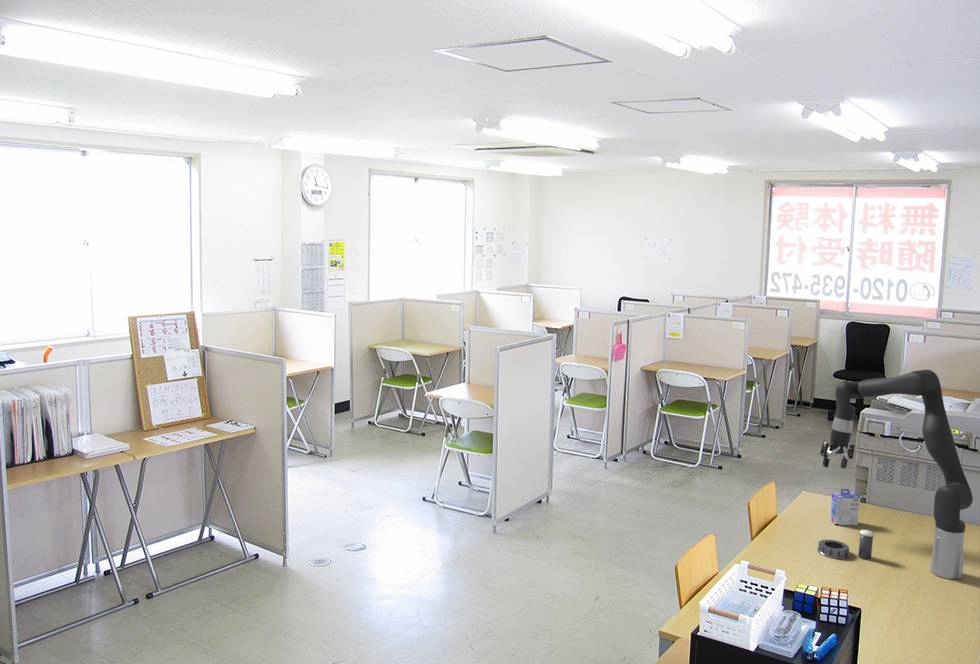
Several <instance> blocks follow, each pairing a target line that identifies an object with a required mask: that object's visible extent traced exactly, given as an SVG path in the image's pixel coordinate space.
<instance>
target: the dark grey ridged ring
mask: <svg viewBox="0 0 980 664" xmlns="http://www.w3.org/2000/svg"><path fill="white" fill-rule="evenodd" d="M817 546H818V547H817V550H818V551H817V553H818V554H819V555H821V554H822V555H821V556H823V555H824V557H827V558H829V557H830V559H834V558H835V560H845V559H847V558H849V557H850V547H849V545H848V544H847V543H845V542H842V541H838V540H835V539H822V540H818V545H817Z"/></svg>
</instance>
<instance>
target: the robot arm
mask: <svg viewBox="0 0 980 664" xmlns="http://www.w3.org/2000/svg"><path fill="white" fill-rule="evenodd" d="M835 388H836V389H835V404H836V410H835V415H834V418H833V421H832V426H831V429H830V437H829V438H830V441H828V442H827V441H825V440H824V441H822V445H821V449H820V452H819V455H820V456H821V457H823V461H822V466H823V467H824V468H827V469H828V468H829V465H830V459H831V458H832V456H834V455H838V454H839V455H841V456H842V458H841V462H840V468H841V469H844V470H846V468H847V466H848V461H849V460H852V459H854V452H855V448H856V447H855V446H856V445H855V444H853V443H850V441H851V437H852V432H853V427H854V420H855V414H856V407H855V406H854V405H853V404H851V401H850V400H859V399H865V398H874V397H884V396H887V395H889V396H890V395H907V396H908V395H909V396H917V397H918V396H921V398H922V401H923V406H924V416H923V422H922V432H921V433H922V436H923V441H924V444H925V447H926V450H927V452H928V453H929V455H930V456H931V458H932V459H933V460H934V461H935V463H936V465H938V467H939V468H940V470H941V472H942V475H943V478H944V481H945V485H942V486H940V487H939V488H938V489H937V490H936V492H935V494H934V501H933V503H934V504H933V517H934V522H935V524H934V525H935V526H934V538H933V544H932V545H933V546H932V555H931V563H930V572H931V573H932V574H933V575H935V576H937V577H941V578H944V579H948V580H949V579H951V580H957V579H960V580H961V579H963V569H964V568H963V567H964V560H965V553H964V543H965V541H964V540H965V534H966V533H965V532H966V523H965V522H964V521H963V520H961V519H960V518H961V517H960V516H961V511H962V510H966V509H968V508H970V507H971V505H972V504H973V500H974V497H973V493H972V490H971V487H970V485H969V481H968V480H967V478H966V475H965V473H964V469H963V467H962V463H961V460H960V457H959V453H958V450H957V448H956V447H957V446H956V443H955V440H954V436H953V432H952V430H951V427H950V426H951V425H950V423H949V420H948V416H947V411H946V407H945V404H944V398H943V392H942V385H941V383H940V378H939V377H938V375H937V373H935V372H934V370H931V369H921V370H919V369H918V370H913V371H910V372H908V373H904V374H901V375H897V376H894V377H877V378H868V379H862V380H861V381H848V380H843V381H840V382H839V383H838V384H837V386H836V387H835Z"/></svg>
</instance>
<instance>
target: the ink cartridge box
mask: <svg viewBox="0 0 980 664" xmlns="http://www.w3.org/2000/svg"><path fill="white" fill-rule="evenodd" d="M844 491H845V492H844ZM860 500H861V499H860V497H859V496H858V495H857V494H855V493H850V488H841V489H840V493H832V494H831V508H830V509H831V511H830V522H831V521H832V522H833V523H834V524H839V525H838V526H858V525H859V515H860V514H859V513H860ZM832 522H831V523H832ZM833 523H832V524H833ZM834 524H833V525H834Z"/></svg>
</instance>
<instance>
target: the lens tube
mask: <svg viewBox="0 0 980 664" xmlns="http://www.w3.org/2000/svg"><path fill="white" fill-rule="evenodd" d="M874 536H875V534H874V532H873V531H871V530H868V529H860V531H859V542H858V543H859V544H858V545H859V546H858V555H857V557H858V558H860V559H862V560H864V561H865V560H866V561H870V560H872V552H873V541H874ZM869 559H870V560H869Z"/></svg>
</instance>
